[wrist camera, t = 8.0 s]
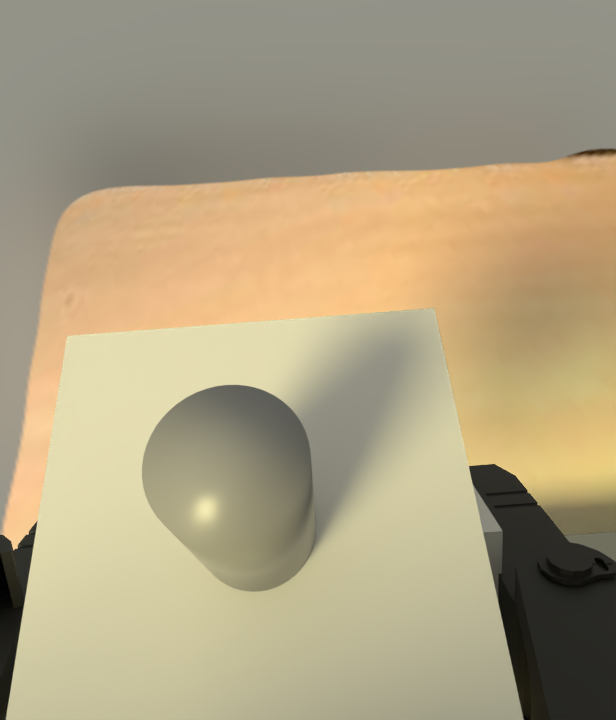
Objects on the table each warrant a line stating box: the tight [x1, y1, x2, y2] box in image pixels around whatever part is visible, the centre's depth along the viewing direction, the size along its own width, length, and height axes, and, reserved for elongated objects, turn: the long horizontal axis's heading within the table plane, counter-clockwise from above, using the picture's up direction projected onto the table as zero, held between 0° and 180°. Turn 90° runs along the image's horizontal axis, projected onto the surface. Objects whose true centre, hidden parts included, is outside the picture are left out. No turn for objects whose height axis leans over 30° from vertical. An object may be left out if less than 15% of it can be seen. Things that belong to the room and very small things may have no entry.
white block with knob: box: [6, 308, 524, 720], centre depth 9 cm, size 4×5×12 cm
